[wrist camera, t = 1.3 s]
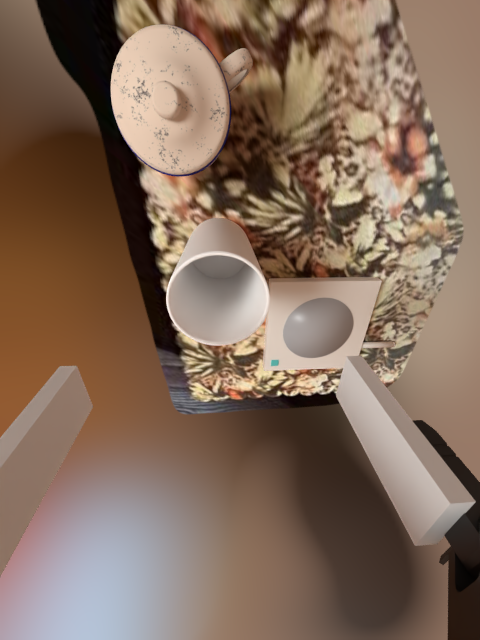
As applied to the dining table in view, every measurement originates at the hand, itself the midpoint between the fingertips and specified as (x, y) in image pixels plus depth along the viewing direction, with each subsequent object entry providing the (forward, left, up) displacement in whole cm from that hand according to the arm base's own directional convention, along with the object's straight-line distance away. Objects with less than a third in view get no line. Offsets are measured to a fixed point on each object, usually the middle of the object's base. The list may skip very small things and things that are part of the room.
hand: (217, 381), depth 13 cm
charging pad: (+12, +18, -24) cm, 33 cm away
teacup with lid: (-14, -2, -25) cm, 29 cm away
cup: (0, 0, -25) cm, 25 cm away
